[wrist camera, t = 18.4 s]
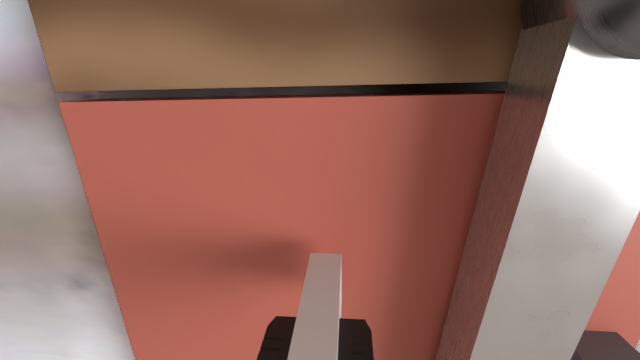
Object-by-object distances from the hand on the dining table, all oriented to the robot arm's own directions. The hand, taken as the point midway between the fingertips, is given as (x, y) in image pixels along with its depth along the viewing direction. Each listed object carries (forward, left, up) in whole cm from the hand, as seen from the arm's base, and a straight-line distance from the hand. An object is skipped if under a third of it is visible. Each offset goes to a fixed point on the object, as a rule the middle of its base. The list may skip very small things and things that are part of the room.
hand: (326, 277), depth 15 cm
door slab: (+2, +2, -4) cm, 5 cm away
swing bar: (-1, +9, -1) cm, 9 cm away
